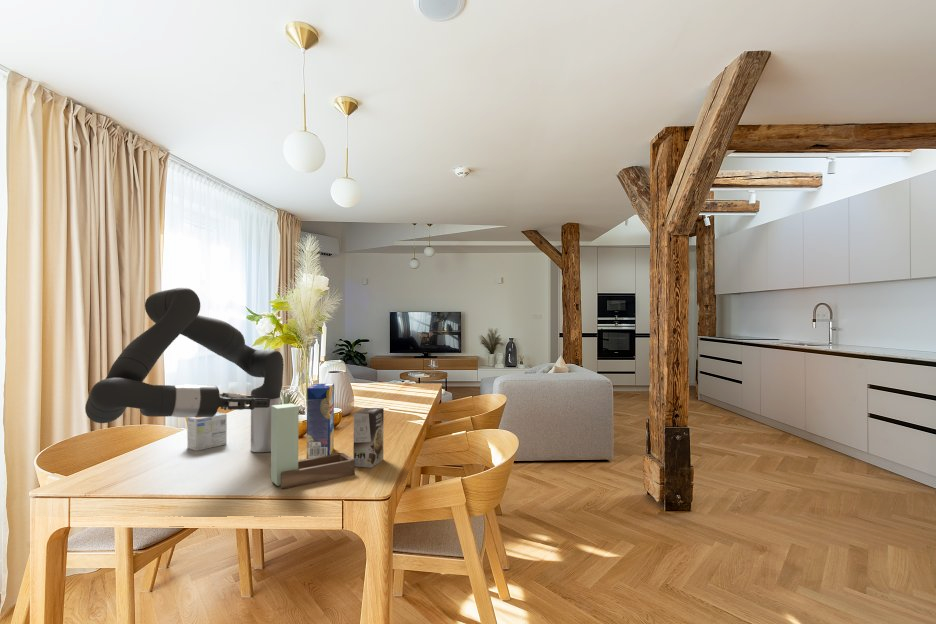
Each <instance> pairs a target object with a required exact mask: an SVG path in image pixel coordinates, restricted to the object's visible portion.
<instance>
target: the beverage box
mask: <svg viewBox="0 0 936 624" xmlns="http://www.w3.org/2000/svg"><path fill="white" fill-rule="evenodd" d="M334 414H335V384H334V383H313V384H311V385H310V386H308V387H307V389H306V459H310V458H316V457H322V456H327V455H332V452H333V450H334V446H335V445H334V441H335V440H334V437H335V436H334V435H335V434H334V433H335V429H334V428H335V419H334V417H335V415H334Z"/></svg>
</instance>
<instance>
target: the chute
mask: <svg viewBox="0 0 936 624" xmlns="http://www.w3.org/2000/svg"><path fill="white" fill-rule="evenodd" d="M355 467H356V466H355V460H354V459H353V458H352V457H350V456H348V455H346V454H345V453H343V452H339V453H335V454H331V455H327V456H322V457H316V458H308V459H307V458H305V459H300V460H299V459H298V469H297V470H290V471H284V472H281V485H277V486H278V487H279V488H280V489H281V490H283V489H285V490H286V489H289V488H294V487H300V486H305V485H309V484H314V483H319V482H323V481H328V480H334V479H339V478H342V477H349V476H352V475H355V472H356V470H355V469H356V468H355Z"/></svg>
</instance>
